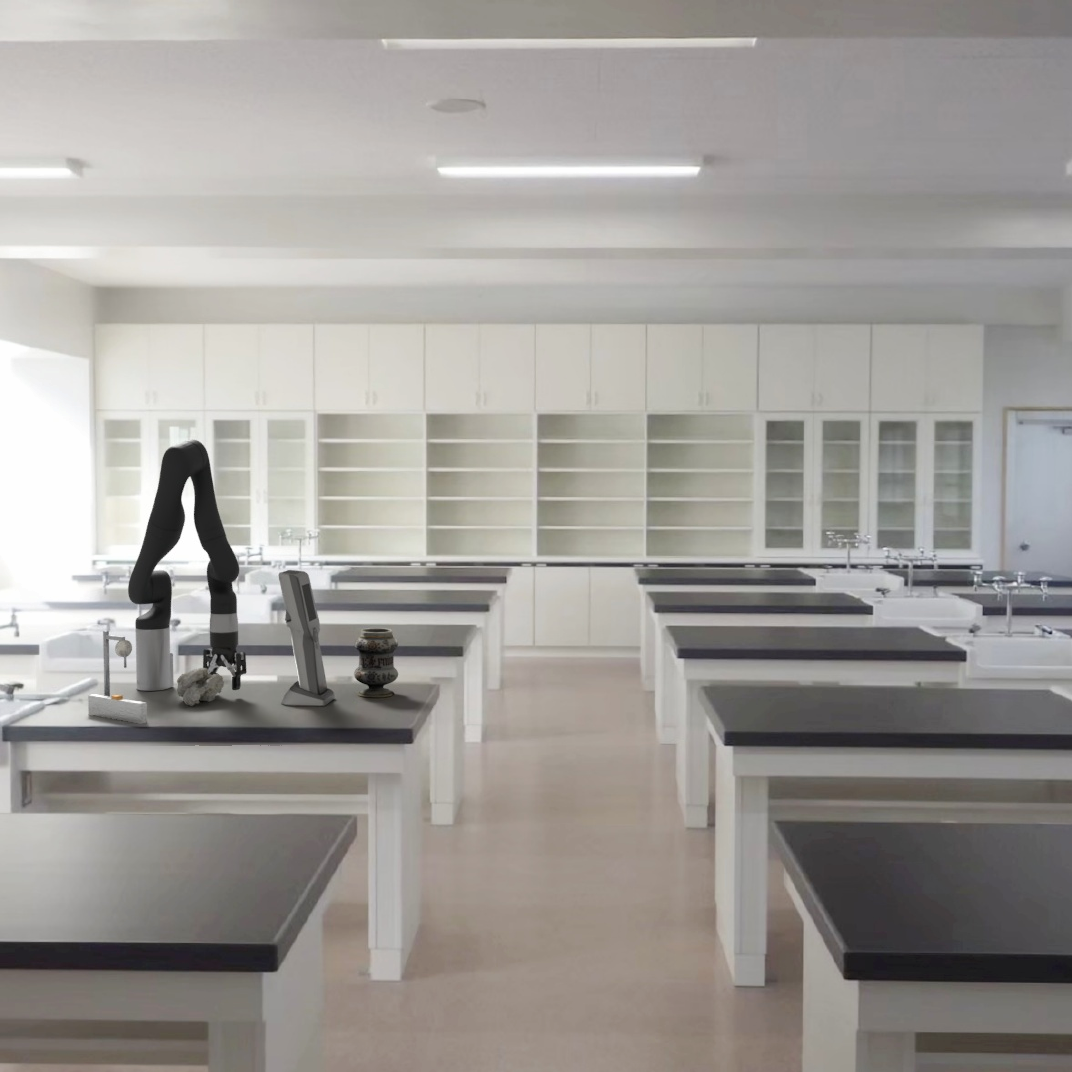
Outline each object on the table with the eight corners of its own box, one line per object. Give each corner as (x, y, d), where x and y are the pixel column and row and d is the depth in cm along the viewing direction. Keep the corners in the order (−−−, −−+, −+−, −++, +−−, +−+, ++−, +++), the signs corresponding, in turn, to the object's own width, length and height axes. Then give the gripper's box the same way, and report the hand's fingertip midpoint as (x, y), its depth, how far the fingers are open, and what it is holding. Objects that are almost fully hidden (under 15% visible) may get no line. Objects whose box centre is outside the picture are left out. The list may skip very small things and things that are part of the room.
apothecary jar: (395, 698, 342) (394, 632, 341) (350, 698, 343) (350, 632, 342) (400, 690, 355) (400, 626, 353) (358, 690, 355) (357, 626, 354)
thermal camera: (290, 697, 344) (288, 569, 342) (336, 698, 343) (335, 569, 341) (277, 705, 333) (275, 573, 331) (325, 706, 332) (323, 573, 329)
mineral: (237, 687, 346) (220, 655, 346) (218, 696, 329) (200, 662, 329) (198, 708, 347) (181, 676, 347) (177, 718, 329) (159, 684, 330)
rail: (94, 713, 323) (94, 690, 322) (147, 722, 312) (146, 699, 311) (88, 714, 321) (88, 692, 321) (140, 724, 310) (140, 700, 310)
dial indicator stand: (109, 701, 338) (107, 628, 337) (136, 705, 332) (134, 632, 331) (90, 704, 333) (88, 631, 332) (117, 709, 327) (115, 634, 326)
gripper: (252, 629, 344) (253, 688, 345) (215, 625, 352) (216, 683, 353) (232, 633, 338) (233, 693, 339) (195, 629, 346) (196, 687, 347)
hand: (224, 688), depth 346 cm, fingers open, 8 cm apart
